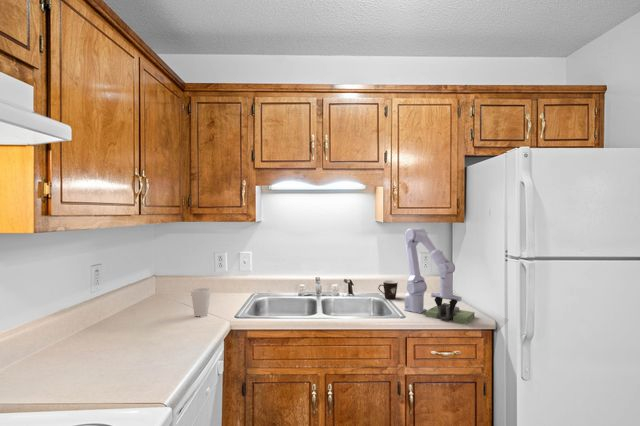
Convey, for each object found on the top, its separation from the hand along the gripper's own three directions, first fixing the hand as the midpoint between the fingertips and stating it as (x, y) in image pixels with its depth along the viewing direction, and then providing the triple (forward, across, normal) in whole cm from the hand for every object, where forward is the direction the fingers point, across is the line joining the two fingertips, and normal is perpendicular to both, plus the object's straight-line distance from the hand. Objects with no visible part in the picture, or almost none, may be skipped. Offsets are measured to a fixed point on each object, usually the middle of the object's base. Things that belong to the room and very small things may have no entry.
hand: (445, 313), depth 194 cm
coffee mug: (+3, +43, -21) cm, 48 cm away
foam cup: (+3, +100, +71) cm, 123 cm away
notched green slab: (+3, 0, -6) cm, 7 cm away
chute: (+2, 0, 0) cm, 2 cm away
